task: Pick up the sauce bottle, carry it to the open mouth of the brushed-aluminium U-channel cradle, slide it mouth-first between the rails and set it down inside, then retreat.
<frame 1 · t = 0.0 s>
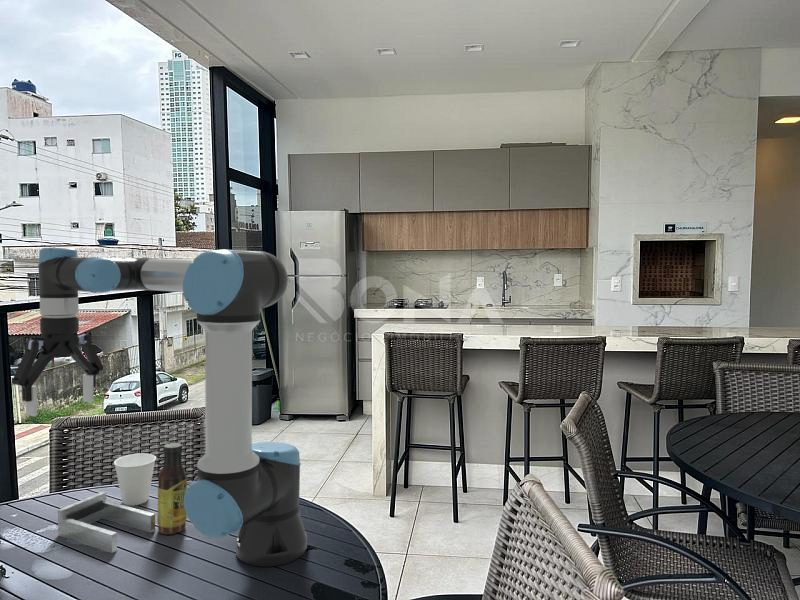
hand: (61, 408, 130), 28 cm above the table, fingers open, 13 cm apart
cup: (135, 502, 147), on the table
cradle: (109, 533, 129), on the table
sauce bottle: (172, 530, 132), on the table
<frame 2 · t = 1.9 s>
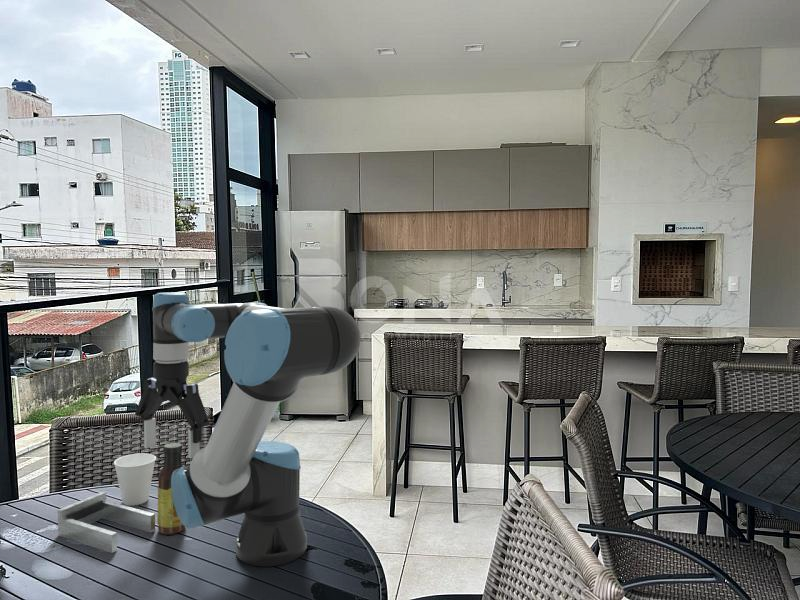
hand: (171, 451, 131), 18 cm above the table, fingers open, 13 cm apart
nothing on the table moved.
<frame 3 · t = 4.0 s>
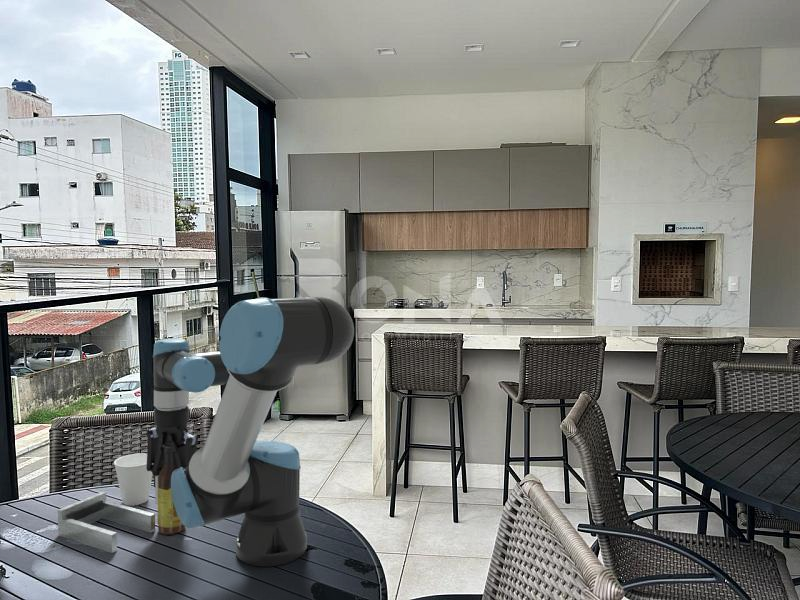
hand: (172, 504, 132), 6 cm above the table, fingers closed on sauce bottle, 6 cm apart
sauce bottle: (172, 530, 132), on the table, touching gripper
everything else where it was.
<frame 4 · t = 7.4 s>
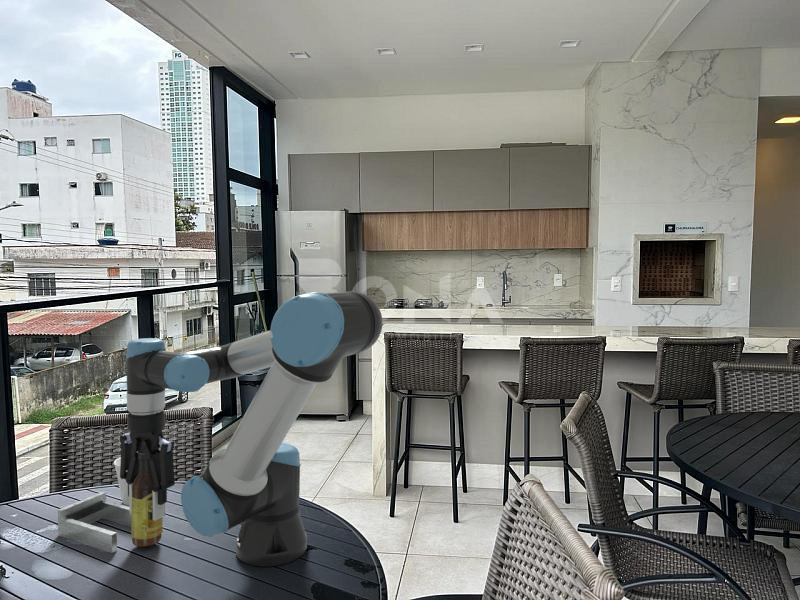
hand: (147, 514, 124), 7 cm above the table, fingers closed on sauce bottle, 6 cm apart
sauce bottle: (147, 541, 125), point 1 cm above the table, touching gripper
everything else where it was.
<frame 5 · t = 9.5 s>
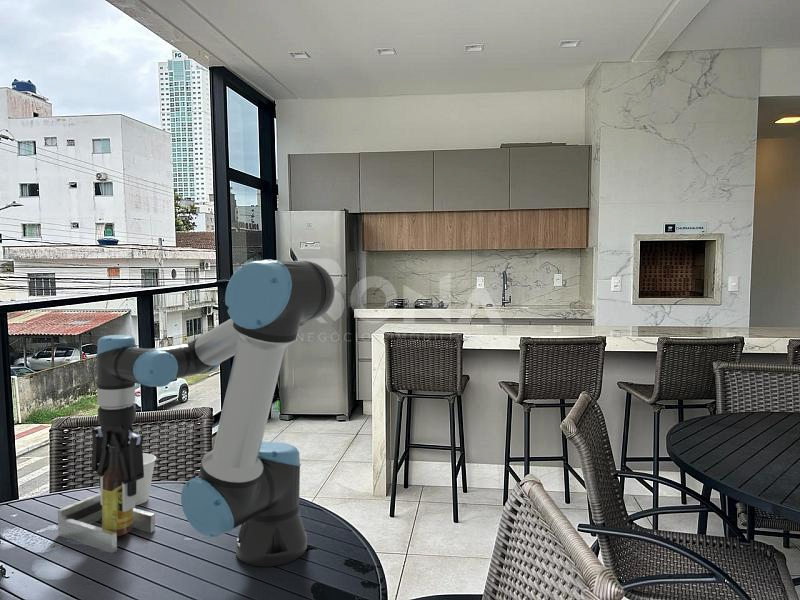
hand: (117, 505, 128), 7 cm above the table, fingers closed on sauce bottle, 6 cm apart
sauce bottle: (118, 532, 128), point 1 cm above the table, touching gripper
everything else where it was.
when the fingers open (6 cm above the table, at t = 11.1 s): sauce bottle stays where it is, resting in cradle.
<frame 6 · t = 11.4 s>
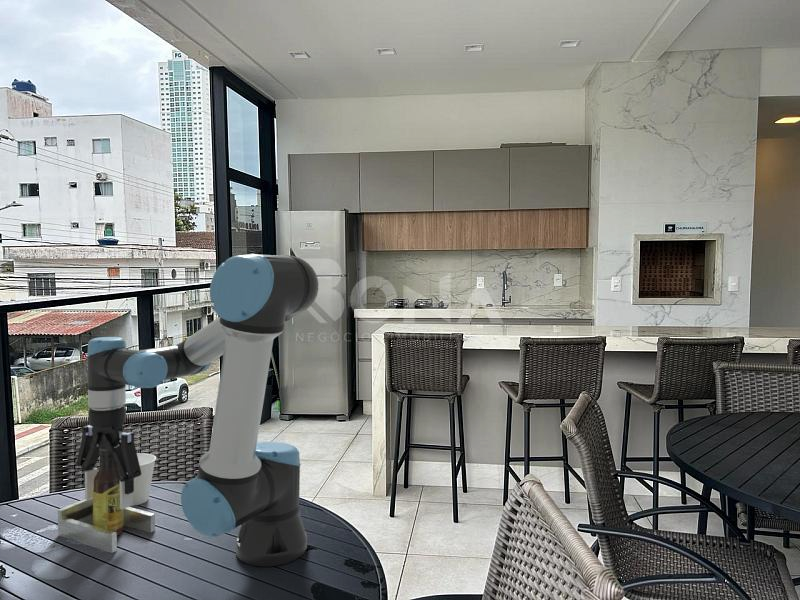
hand: (108, 502, 129), 7 cm above the table, fingers open, 10 cm apart
sauce bottle: (108, 534, 130), resting in cradle
everything else where it was.
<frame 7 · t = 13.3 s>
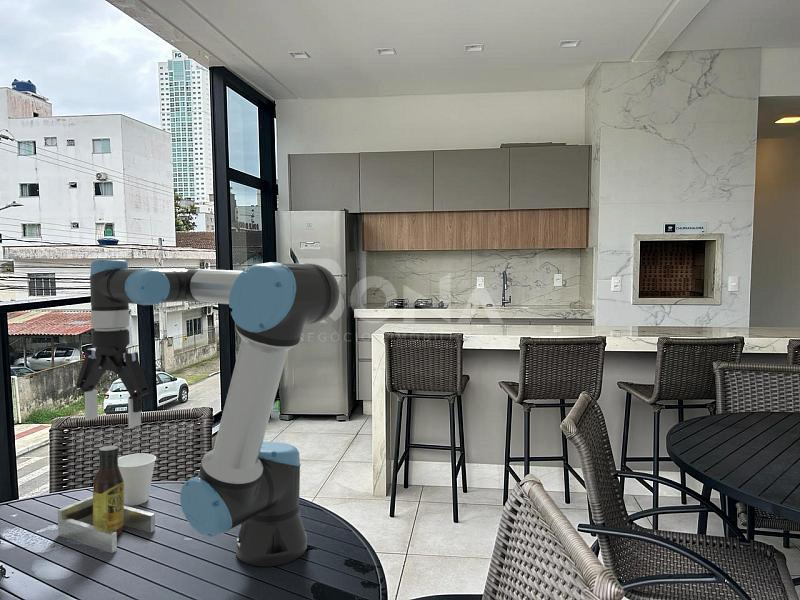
hand: (112, 422, 128), 26 cm above the table, fingers open, 13 cm apart
nothing on the table moved.
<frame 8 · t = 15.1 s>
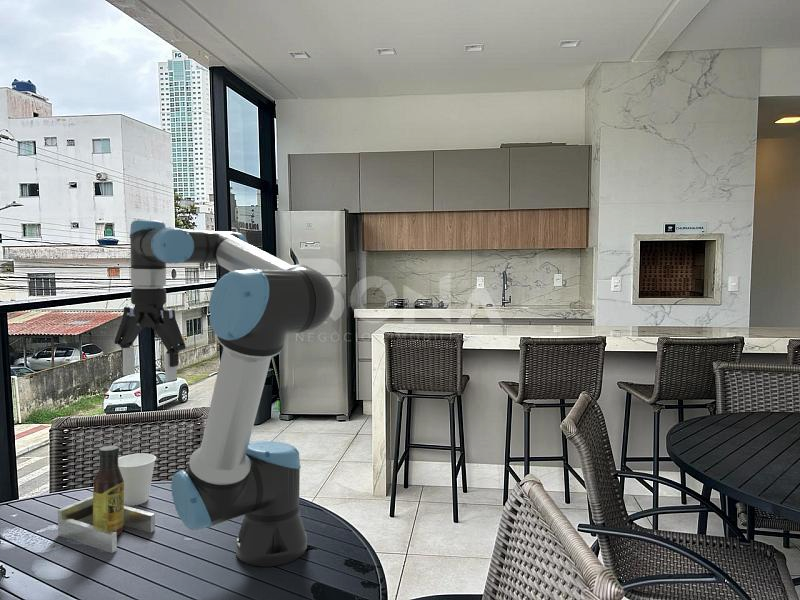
hand: (149, 377, 134), 35 cm above the table, fingers open, 13 cm apart
nothing on the table moved.
at the end: sauce bottle inside the target area on the cradle (0.6 cm from its centre), point 0.0 cm above the cradle's base; sauce bottle tilted 0°; the gripper is holding nothing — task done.
